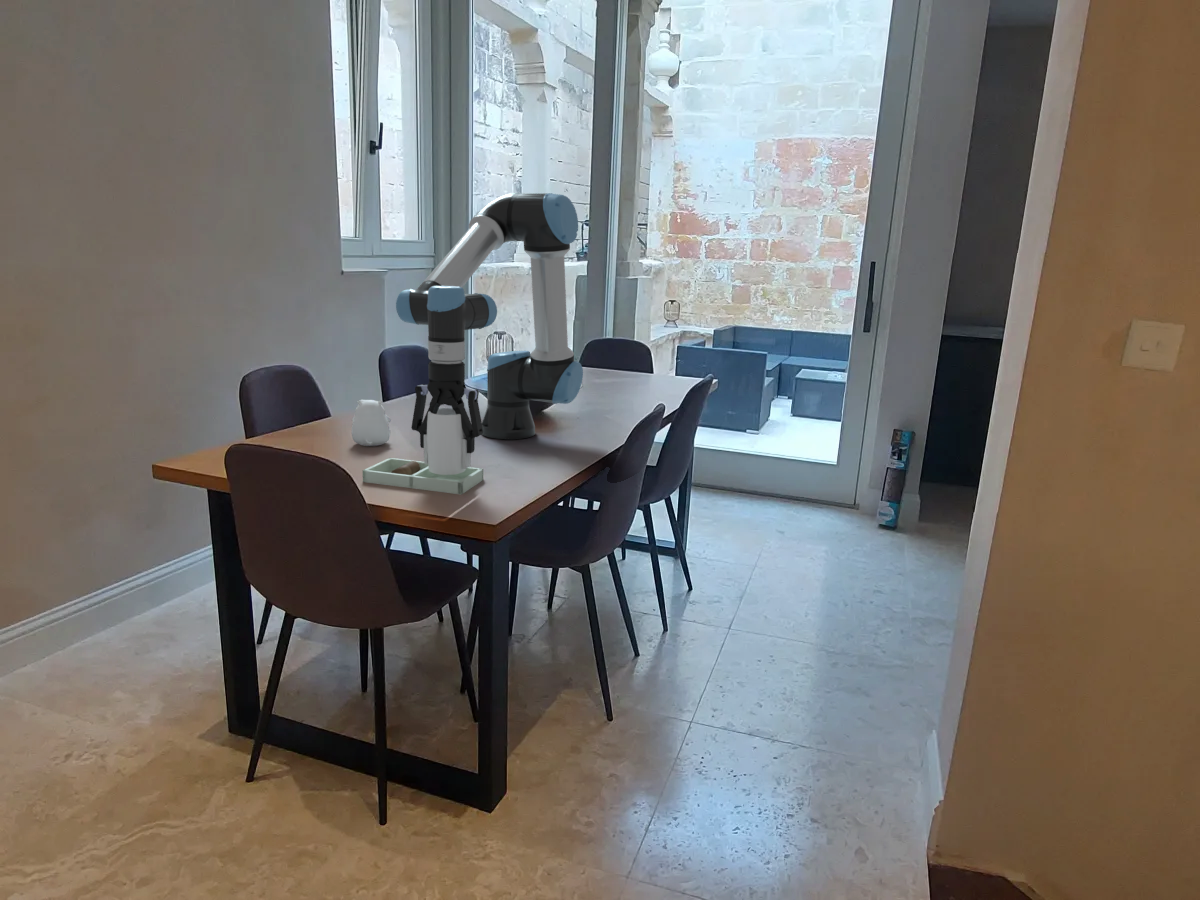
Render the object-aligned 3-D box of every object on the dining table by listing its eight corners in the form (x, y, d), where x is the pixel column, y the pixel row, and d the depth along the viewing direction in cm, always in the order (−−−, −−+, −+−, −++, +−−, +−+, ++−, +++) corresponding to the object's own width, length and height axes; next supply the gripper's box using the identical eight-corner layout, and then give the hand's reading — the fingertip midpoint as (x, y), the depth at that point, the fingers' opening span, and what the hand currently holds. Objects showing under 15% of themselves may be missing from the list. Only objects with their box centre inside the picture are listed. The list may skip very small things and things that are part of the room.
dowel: (405, 466, 178) (413, 458, 177) (414, 476, 178) (422, 467, 177) (387, 475, 171) (395, 467, 170) (396, 485, 171) (405, 477, 170)
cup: (441, 467, 177) (441, 405, 173) (474, 473, 174) (474, 410, 170) (419, 477, 169) (418, 412, 166) (453, 483, 166) (452, 417, 163)
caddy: (390, 470, 182) (389, 457, 181) (483, 481, 176) (483, 468, 175) (362, 483, 171) (362, 470, 170) (461, 496, 165) (461, 482, 165)
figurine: (389, 450, 199) (387, 403, 196) (348, 450, 197) (347, 403, 194) (392, 440, 208) (391, 396, 205) (354, 440, 207) (352, 395, 204)
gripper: (392, 359, 164) (394, 463, 170) (486, 367, 159) (485, 474, 165) (409, 355, 171) (411, 455, 177) (500, 362, 166) (499, 465, 172)
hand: (447, 464), depth 171 cm, fingers closed on cup, 8 cm apart
